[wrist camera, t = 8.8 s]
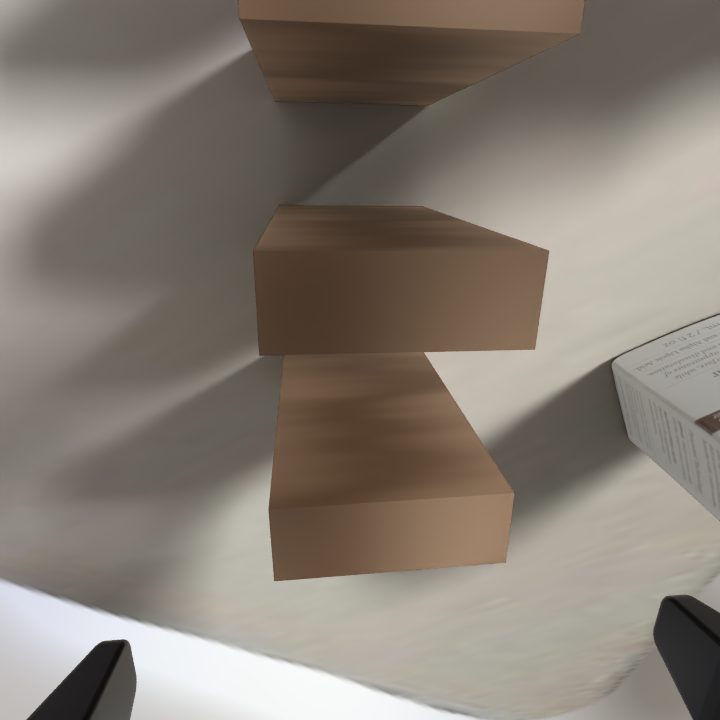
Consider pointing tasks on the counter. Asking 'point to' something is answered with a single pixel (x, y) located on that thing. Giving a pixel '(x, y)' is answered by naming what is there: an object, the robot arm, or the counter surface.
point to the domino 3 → (379, 471)
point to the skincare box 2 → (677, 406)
